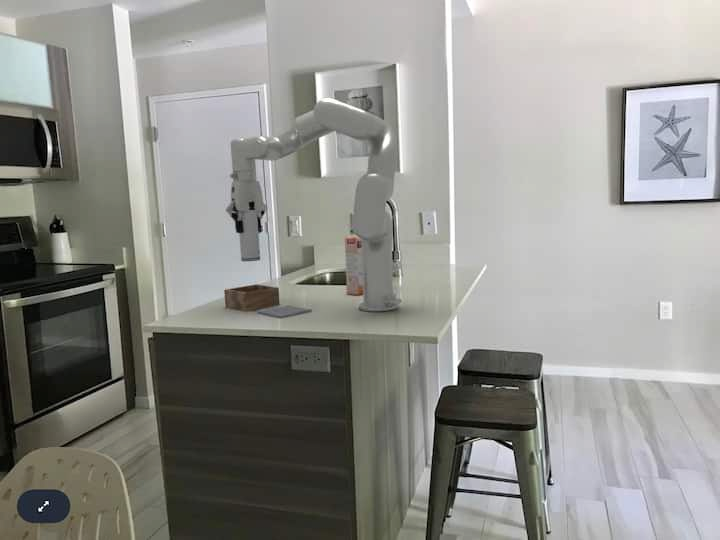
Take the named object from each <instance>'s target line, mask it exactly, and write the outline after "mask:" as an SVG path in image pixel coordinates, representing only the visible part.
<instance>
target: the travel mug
mask: <svg viewBox="0 0 720 540" xmlns="http://www.w3.org/2000/svg"><path fill="white" fill-rule="evenodd" d="M254 203H255V202H254V201H253V202H249V207H250V208H249V211H247V212H243V213H242V217H241V221H242V222H243V233H238V234H239V235H238V236H239V245H240V246H239V247H240V259H241V261H242V262H257V261H260V260H261V250H260V248H261V247H260V235H259V231H258V218H257V211H256V210H255V208H254V207H255V204H254Z"/></svg>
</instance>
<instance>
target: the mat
mask: <svg viewBox="0 0 720 540" xmlns="http://www.w3.org/2000/svg"><path fill="white" fill-rule="evenodd" d="M312 310H313V309H310V308H306V307H300V306H293V305H289V304H288V305H283V306H279V307H273V308H270V309H269V308H268V309H266V310H259V311H257V314H258V315H264V316H268V317H273V318H277V319H278V318H279V319H284V318H288V317H292V316H297V315H302V314H307V313H311V312H313V311H312Z"/></svg>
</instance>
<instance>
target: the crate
mask: <svg viewBox="0 0 720 540" xmlns="http://www.w3.org/2000/svg"><path fill="white" fill-rule="evenodd" d="M224 303H225V308H227V307H229V308H228V309H232V308H233V309H232V310H236V311H238V310H239V311H242V312H246V313H248V312H252V311H253V312H254V311H257V310H262V309H266V308H268V309H269V308H272V307H273V308H274V307H276V306H281V303H280V290H279V287H277V286H270V285H263V284H259V283H258V284H257V283H256V284H250V285H245V286H238V287H233V288H231V287H230V288H225V289H224Z"/></svg>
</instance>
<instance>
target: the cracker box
mask: <svg viewBox="0 0 720 540" xmlns="http://www.w3.org/2000/svg"><path fill="white" fill-rule="evenodd" d="M344 248H345V250H344V253H345V281H346V284H345V285H346V286H345V287H346V295H350V294H352V295H351V296H353V295H354V296H360V295H363V275H362V239H360V238H359V237H358V236H357V235H354V236H348V237H346V236H345V237H344Z"/></svg>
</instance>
